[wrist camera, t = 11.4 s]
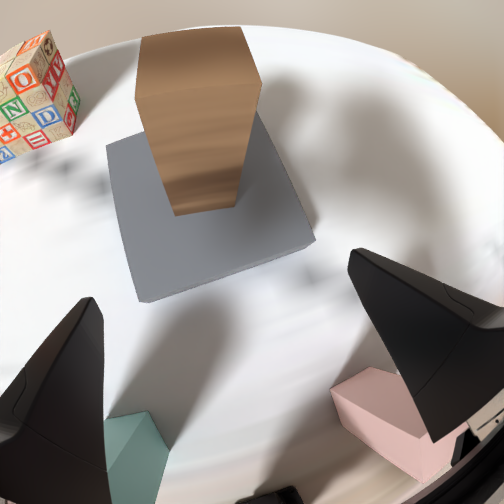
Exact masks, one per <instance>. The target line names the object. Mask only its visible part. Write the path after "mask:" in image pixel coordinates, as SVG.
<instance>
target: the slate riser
mask: <svg viewBox="0 0 504 504" xmlns="http://www.w3.org/2000/svg"><path fill="white" fill-rule="evenodd" d="M106 151H107V159H108V167H109V173H110V180H111V186H112V192H113V198H114V203H115V209H116V214H117V219H118V223H119V228H120V232H121V237H122V241H123V245H124V249H125V253H126V257H127V261H128V265H129V269H130V272H131V276H132V279H133V283H134V286H135V290H136V293H137V296H138V299H139V302H144V303H151V302H154V301H157V300H160V299H162V298H165V297H168V296H171V295H174V294H177V293H180V292H183V291H186V290H189V289H192V288H195V287H198V286H200V285H203V284H206V283H209V282H212V281H215V280H218V279H221V278H224V277H226V276H229V275H232V274H235V273H238V272H241V271H243V270H246V269H249V268H252V267H255V266H258V265H260V264H263V263H266V262H269V261H272V260H274V259H277V258H280V257H283V256H286V255H288V254H291V253H294V252H297V251H299V250H302V249H304V248H306V247H307V246H309V245H310V244H312V243H313V242H314V241H316V239H315V236H314V234H313V231H312V229H311V227H310V224H309V222H308V220H307V217H306V215H305V213H304V210H303V208H302V206H301V203H300V201H299V199H298V197H297V194H296V192H295V190H294V188H293V185H292V183H291V181H290V179H289V177H288V174H287V172H286V170H285V168H284V166H283V164H282V162H281V160H280V157H279V155H278V153H277V151H276V149H275V147H274V145H273V143H272V141H271V139H270V137H269V135H268V133H267V131H266V129H265V127H264V125H263V123H262V121H261V119H260V117H259V115H258V113H257V111H255V116H254V120H253V124H252V128H251V133H250V137H249V142H248V146H247V150H246V155H245V159H244V164H243V168H242V173H241V178H240V182H239V187H238V191H237V196H236V201H235V206H234V207H231V208H225V209H218V210H212V211H205V212H199V213H193V214H187V215H182V216H176V217H175V215H174V212H173V210H172V207H171V204H170V202H169V199H168V196H167V194H166V191H165V188H164V186H163V183H162V180H161V177H160V175H159V172H158V169H157V166H156V163H155V160H154V158H153V155H152V152H151V149H150V146H149V143H148V140H147V137H146V134H145V131H144V132H141V133H138V134H135V135H132V136H130V137H127V138H124V139H121V140H119V141H116V142H114V143H111V144H109V145H106Z"/></svg>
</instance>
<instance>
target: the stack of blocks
mask: <svg viewBox="0 0 504 504" xmlns="http://www.w3.org/2000/svg"><path fill="white" fill-rule="evenodd" d="M79 102H80V98H79V96H78V94H77V92H76V89H75V87H74V85H73V84H72V81H71V79H70V77H69V75H68V72H67V70H66V68H65V65H64V62H63V60H62V58H61V56H60V53H59V50H58V49H57V47H56V45H55V42H54V40H53V37H52V34H51V32H50V30H48V31H46V32H44V33H42V34H40V35H38V36H36V37H34V38H32V39H30V40H28V41H26V42H25V41H24V42H22V43H20V44H18V45H16V46H15V47H13V48H11V49H10V50H8V51H6V52H5V53H4V54H3V55H1V56H0V164H2V163H4V162H6V161H8V160H10V159H12V158H15V157H16V156H19V155H21V154H23V153H26V152H28V151H30V150H34V149H37V148H39V147H42V146H44V145H47V144H50V143H52V142H55V141H58V140H61V139H64V138H67V137H70V136H72V135H73V131H74V126H75V121H76V115H77V111H78V107H79Z"/></svg>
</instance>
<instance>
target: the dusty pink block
mask: <svg viewBox="0 0 504 504" xmlns="http://www.w3.org/2000/svg"><path fill="white" fill-rule="evenodd" d="M330 392H331V395H332V398H333V401H334V404H335V406H336V409H337V412H338V415H339V418H340V421H341V424H342V426H343V427H344V428H346V429H347V430H348V431H349V432H351V433H352V434H353V435H355V436H356V437H357V438H358V439H360V440H361V441H362V442H364V443H365V444H366V445H368V446H369V447H370V448H372V449H373V450H374V451H376V452H377V453H379V454H380V455H381V456H383V457H384V458H386V459H387V460H388V461H390V462H391V463H393V464H394V465H395V466H397V467H398V468H400V469H401V470H403V471H404V472H406V473H407V474H409V475H410V476H412V477H413V478H415V479H416V480H418V481H419V482H421V483H423V484H424V483H425V482H426V481H428V480H429V479H430V478H431V477H433V476H434V475H435V474H436V473H437V472H438V471H440V470H441V469H442V468H443V467H444V466H445V465H446V464H447V463H448V462H449V461H450V460H452V456H453V452H454V447H455V442H456V437H458V436H459V435H460V434H461V433H462V432H463V431H465V430H466V429H467V428H468V425H467V423H466V421H465V422H464V423H463V424H461V425H460V426H459V427H457V428H456V429H455V430H453V431H452V432H451V433H449V434H448V435H446V436H445V437H443V438H442V439H440V440H439V441H437V442H436V443H434V444H433V442H432V441H431V438H430V436H429V434H428V431H427V429H426V427H425V425H424V422H423V420H422V418H421V416H420V414H419V412H418V409H417V407H416V405H415V403H414V401H413V398H412V396H411V394H410V392H409V390H408V388H407V386H406V384H405V382H404V380H403V378H402V376H401V375H397V374H394V373H390V372H386V371H383V370H380V369H376V368H373V367H368V368H366V369H365V370H363V371H361V372H360V373H358V374H356V375H354V376H353V377H351V378H349V379H347V380H345V381H344V382H342V383H340V384H338V385H336V386H334V387H332V388H330Z"/></svg>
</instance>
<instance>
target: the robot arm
mask: <svg viewBox="0 0 504 504" xmlns="http://www.w3.org/2000/svg"><path fill="white" fill-rule="evenodd" d="M348 274H349V277H350V279H351V281H352V283H353V285H354V287H355V289H356V292H357V294H358V296H359V298H360V300H361V303H362V305H363V307H364V308H365V310H366V312H367V314H368V316H369V317H370V319H371V321H372V323H373V324H374V326H375V328H376V330H377V331H378V333H379V335H380V337H381V339H382V340H383V342H384V344H385V346H386V348H387V350H388V351H389V353H390V355H391V357H392V359H393V361H394V363H395V365H396V367H397V369H398V370H399V372H400V374H401V376H402V378H403V380H404V382H405V384H406V386H407V388H408V390H409V392H410V394H411V396H412V398H413V401H414V403H415V405H416V407H417V409H418V412H419V414H420V416H421V418H422V420H423V422H424V425H425V427H426V429H427V431H428V434H429V436H430V438H431V441H432V442H433V444H434V443H436V442H437V441H439V440H440V439H442V438H443V437H445V436H446V435H448V434H449V433H451V432H452V431H453V430H455V429H456V428H457V427H459V426H460V425H461V424H463V423H464V422H465V421H466V423H467V425H468V428H467V429H466V430H465V431H463V432H462V433H461V434H460V435H459V436H458V437H456V442H455V447H454V452H453V456H452V460H451V466H452V468H451V469H450V470H449V471H447V472H446V473H445V474H444V475H442V476H441V477H440V478H438V479H437V480H436V481H434V482H433V483H432V484H430V485H429V486H427V487H426V488H425V489H423V490H422V491H420V492H419V493H417V494H416V495H414V496H413V497H411V498H410V499H408V500H406V501H405V502H403V503H401V504H499V503H500V502H501V501H502V499H503V498H504V307H499V306H496V305H494V304H491V303H489V302H486V301H484V300H482V299H479V298H477V297H474V296H472V295H469V294H467V293H465V292H462V291H460V290H458V289H455V288H453V287H451V286H449V285H447V284H445V283H442V282H440V281H438V280H436V279H434V278H431V277H429V276H427V275H425V274H423V273H420V272H418V271H416V270H414V269H411V268H409V267H407V266H404V265H402V264H400V263H397V262H395V261H393V260H390V259H388V258H386V257H383V256H381V255H379V254H376V253H374V252H371V251H369V250H367V249H364V248H357V249H353V250H352V251H351V253H350V258H349V263H348ZM103 383H104V319H103V315H102V313H101V311H100V309H99V307H98V305H97V303H96V301H95V300H94V298H93V297H86V298H82V299H80V301H79V302H78V303H77V304H76V305H75V306H74V307H73V308H72V309H71V310H70V312H69V313H68V314H67V315H66V316H65V317H64V318H63V319H62V321H61V322H60V323H59V324H58V325H57V326H56V327H55V329H54V330H53V331H52V332H51V333H50V334H49V336H48V337H47V338H46V339H45V340H44V342H43V343H42V344H41V345H40V347H39V348H38V349H37V350H36V352H35V353H34V354H33V355H32V357H31V358H30V359H29V360H28V362H27V363H26V364H25V367H23V368H22V370H21V371H20V372H19V374H18V375H17V376H16V378H15V379H14V380H13V382H12V383H11V384H10V385H9V387H8V388H7V389H6V390H5V392H4V393H3V394H2V395H1V397H0V504H112V499H111V493H110V487H109V480H108V472H107V465H106V454H105V441H104V420H103ZM290 490H292V491H290ZM238 504H304V503H303V501H302V499H301V497H300V495H299V494H298V492H297V490H296V488H295V487H294V486H290V487H287V488H285V489H282V490H279V491H277V492H274V493H271V494H268V495H265V496H262V497H259V498H256V499H252V500H249V501H245V502H242V503H238Z"/></svg>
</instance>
